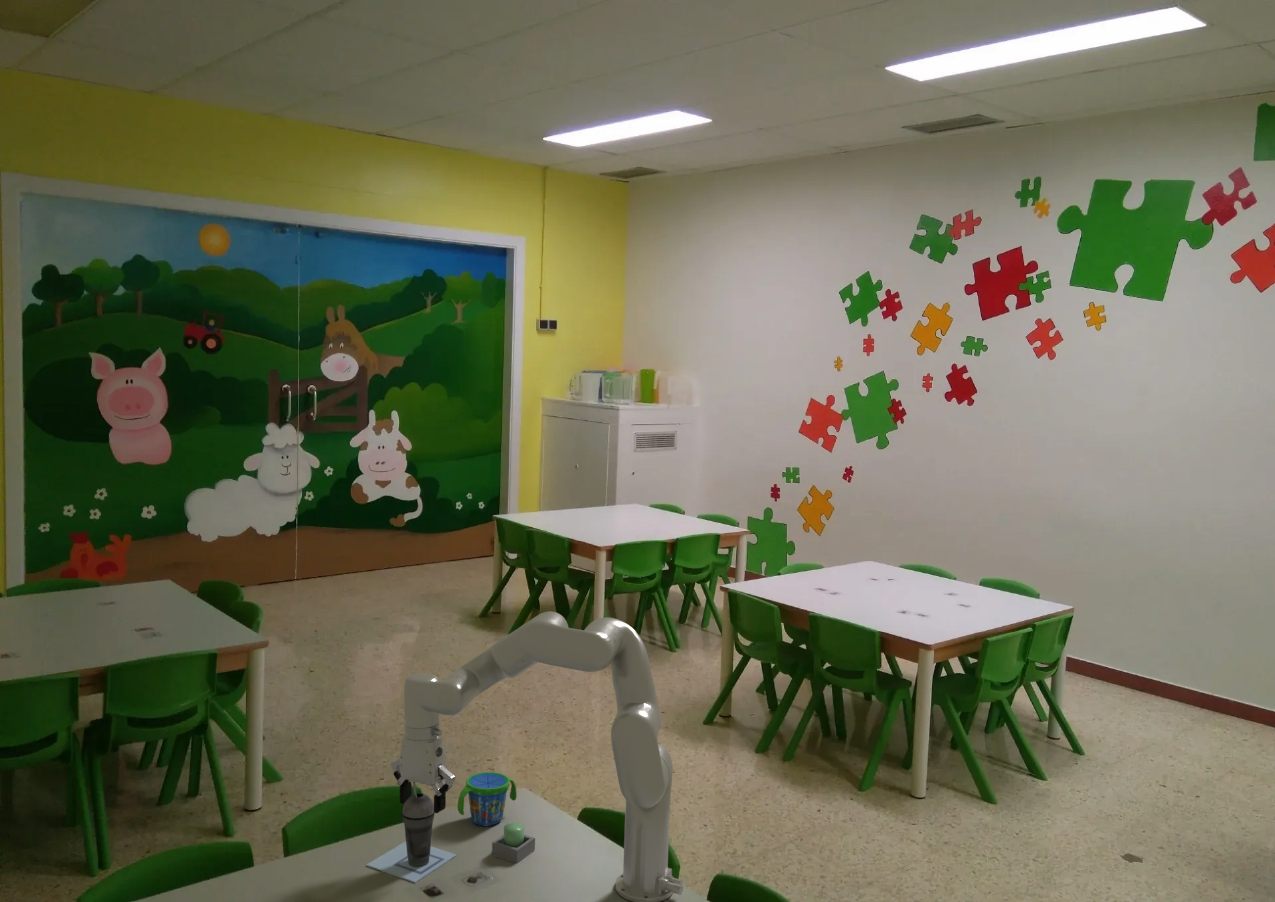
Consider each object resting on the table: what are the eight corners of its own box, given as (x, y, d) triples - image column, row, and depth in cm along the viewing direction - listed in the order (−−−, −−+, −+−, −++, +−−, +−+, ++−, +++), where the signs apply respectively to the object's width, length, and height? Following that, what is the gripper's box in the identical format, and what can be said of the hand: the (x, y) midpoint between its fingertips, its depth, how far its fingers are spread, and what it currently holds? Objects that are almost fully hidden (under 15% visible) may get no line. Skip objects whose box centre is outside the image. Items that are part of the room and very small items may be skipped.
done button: (527, 842, 226) (528, 826, 225) (516, 851, 222) (516, 834, 221) (511, 837, 228) (511, 821, 227) (499, 846, 224) (499, 829, 223)
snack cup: (506, 805, 249) (507, 766, 249) (525, 821, 241) (526, 781, 240) (448, 818, 241) (449, 778, 240) (466, 836, 232) (467, 794, 231)
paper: (456, 856, 222) (456, 854, 222) (415, 883, 210) (415, 881, 210) (409, 840, 229) (409, 839, 229) (366, 865, 217) (366, 864, 217)
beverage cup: (431, 870, 215) (431, 782, 213) (398, 870, 215) (397, 782, 213) (438, 854, 222) (438, 769, 220) (406, 853, 222) (406, 768, 220)
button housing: (534, 850, 226) (535, 838, 226) (517, 863, 220) (517, 850, 220) (509, 842, 230) (510, 830, 229) (491, 855, 223) (492, 842, 223)
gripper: (463, 732, 216) (464, 807, 217) (403, 719, 224) (404, 791, 225) (441, 743, 209) (442, 821, 210) (380, 729, 217) (381, 804, 218)
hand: (422, 806), depth 218 cm, fingers open, 9 cm apart
